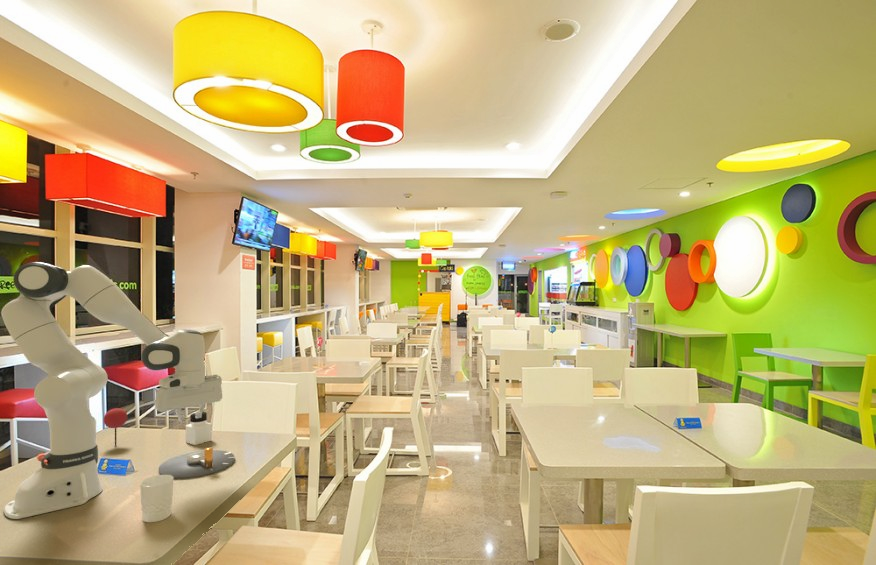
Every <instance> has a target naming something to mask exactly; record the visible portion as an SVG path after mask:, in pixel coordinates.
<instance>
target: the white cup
mask: <svg viewBox="0 0 876 565" xmlns="http://www.w3.org/2000/svg"><path fill="white" fill-rule="evenodd" d="M139 485H140V486H139V487H140V503H141V511H142V514H141V515H142V516H141V517H142V520H143V522H144V523H157V522H161V521H164V520H165V519H167V518H169V517H170V516H171V514H172V504H173V496H174V493H173V492H174V477H173V476H171V475H160V474H158V475H152V476H150V477H147V478H145V479H143V480H141V482H140V483H139Z"/></svg>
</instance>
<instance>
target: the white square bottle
mask: <svg viewBox="0 0 876 565" xmlns="http://www.w3.org/2000/svg"><path fill="white" fill-rule="evenodd" d="M196 412H197V411H195V412H192V413H191V414H190V415H189V417H190V418H189V419H190V421H189V422H190V423H189V424H186V425H185V443H187V444H189V443H190V444H189V445H193V446H197V445H201V444H204V442H205V443H208V442H210V441H212V423H211V422H208V417H207V416H208V415H207V414H208V413H207V412H206V411H203V412H202V417H201V418H195V413H196Z"/></svg>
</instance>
